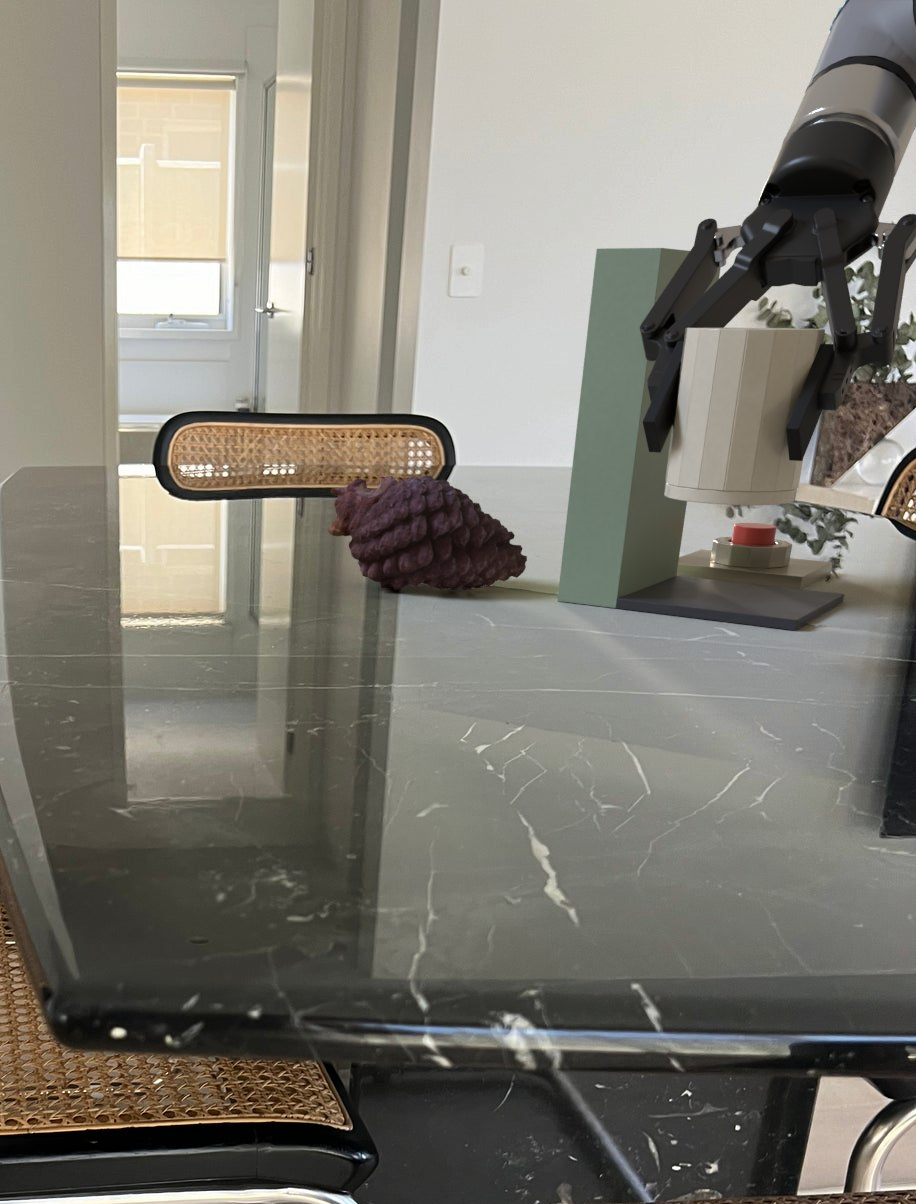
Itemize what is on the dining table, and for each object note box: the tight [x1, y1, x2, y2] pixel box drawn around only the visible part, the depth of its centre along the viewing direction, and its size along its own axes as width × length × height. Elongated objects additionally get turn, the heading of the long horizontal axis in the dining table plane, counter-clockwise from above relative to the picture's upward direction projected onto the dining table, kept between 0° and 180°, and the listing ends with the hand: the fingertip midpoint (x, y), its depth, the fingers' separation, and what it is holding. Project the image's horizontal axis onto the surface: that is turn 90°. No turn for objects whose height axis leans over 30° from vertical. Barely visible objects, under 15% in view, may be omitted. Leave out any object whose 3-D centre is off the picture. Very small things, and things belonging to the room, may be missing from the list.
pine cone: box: [326, 474, 528, 591], centre depth 123 cm, size 18×10×10 cm
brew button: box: [731, 522, 777, 545], centre depth 131 cm, size 4×4×2 cm
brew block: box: [676, 536, 834, 590], centre depth 132 cm, size 12×10×3 cm
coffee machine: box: [556, 247, 845, 631], centre depth 115 cm, size 19×14×26 cm
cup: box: [664, 327, 826, 506], centre depth 92 cm, size 8×8×10 cm
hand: (721, 440), depth 90 cm, fingers closed on cup, 8 cm apart
